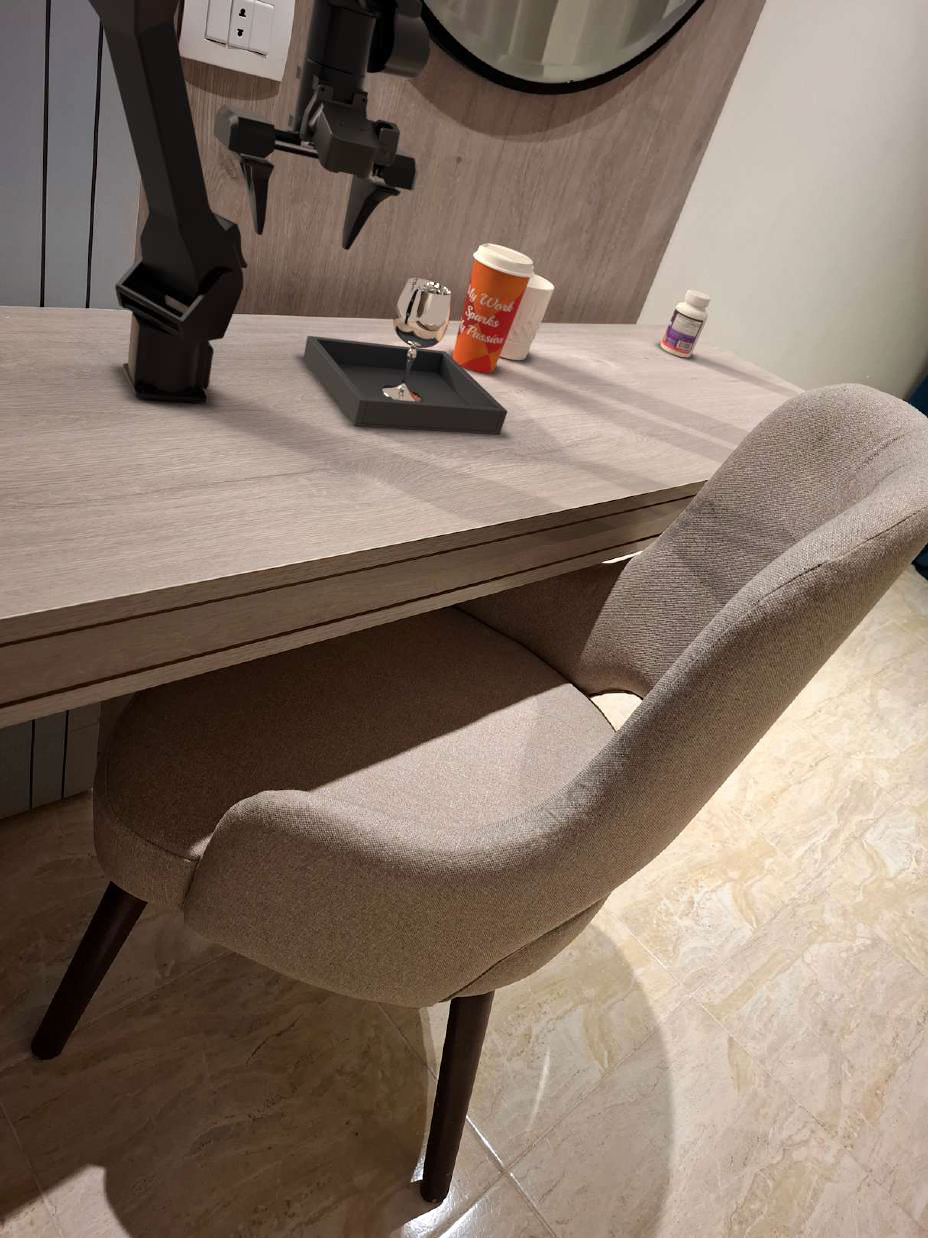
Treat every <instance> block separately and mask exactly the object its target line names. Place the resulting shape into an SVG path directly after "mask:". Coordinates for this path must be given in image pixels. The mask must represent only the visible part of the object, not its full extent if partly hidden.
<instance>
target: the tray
mask: <svg viewBox="0 0 928 1238" xmlns="http://www.w3.org/2000/svg"><path fill="white" fill-rule="evenodd" d="M410 348H411V346H401V345H393V344H385V343H375V342H368V341H367V342H366V341H358V340H351V339H350V340H349V339H340V338H333V337H323V336H313V335H307V337H306V342H305V347H304V352H303V357H302V361H303V362H304V363H305V365H306V366H307V367H308V368H309V369H310V371H311V373H313V374H314V376H315V378H316V379H317V380H318V381H319V382H320V384H321V385H322V386H323V388H324V389H325V390H326V391H327V393H328V394H329V396H330V397H331V398H332V400H333V401H334V402H335V403H336V404H337V406H338V407H339V408H340V410H341V411H342V412H343V413H344V414H345V416H346V417H347V419H348V420H349V421H350V422H351V424H352V425H353V426H354V427H369V428H370V427H372V428H384V429H385V428H387V429H389V428H390V429H402V430H403V429H404V430H418V431H419V430H420V431H434V432H435V431H436V432H453V433H467V434H468V433H470V434H485V435H501V433H502V429H503V427H504V424H505V421H506V417H507V415H508V410H507V409H506V408H505V407H504V406H503V405H502V404H501V403H500V402H499V401H497V399H496V398H495V397H494V396H492V394H491V393H489V392H488V390H486V388H484V387H483V385H481V384H480V383H479V382H478V381H477V380H476V379H475V378H474V377H473V376H472V375H471V374H470V373H469V372H467V370H465V368H464V367H463V366H461V365H459V364H458V363H457V362H456V361H455V360H454V359H453V356H451V355H450V354H449V353H448V352H447V351H445V350H437V349H430V348H429V349H427V348H416V358H415V360H414V361H413V363H412V366H411V368H410V371H409V375H408V379H407V387H408V388H409V389H411V390H413V391H415V392H416V393H417V394H418V395H419V396H420V397H421V400H420V402H418V401H405V400H393V399H391V398H389V397H387V396H386V395H385V394H384V393H383V392H382V387H383V386H385V385H400V384H401V382H402V380H403V378H404V374H405V370H406V363H407V353H408V350H409V349H410Z"/></svg>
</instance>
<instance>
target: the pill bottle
mask: <svg viewBox="0 0 928 1238" xmlns="http://www.w3.org/2000/svg"><path fill="white" fill-rule="evenodd" d="M711 300H712V298H711V296H709V295H707V294H706V293H704V292H701V291H698V290H695V289H687V291H686V293H685V295H684V301H681V302H678V303H677V304H676V306H675V309H674V311H673V312H672V316H671V317H670V320H669V323H668V326H667V327H666V330H665V333H664V335H663V338H662V340H661V342H660V347H661V349H662V350H664V351H665V352H667V353H669V354H671V355H674V356H677V357H680V358H690V357H691V356H692V354H693V353H694V350H695V347H696V345H697V342H698V340H699V338H700V335H701V333H702V331H703V329H704V327H705V324H706V322H707V319H708V316H709V314H708V312H707V310H706V308H708V307H709V304H710V302H711Z"/></svg>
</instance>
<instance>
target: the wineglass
mask: <svg viewBox="0 0 928 1238" xmlns="http://www.w3.org/2000/svg"><path fill="white" fill-rule="evenodd" d="M451 307H452V292H451V290H450V289H449V288H447V287H446V286H444V285H442V284H440V283H437V282H435V281H432V280H429V279H424V278H420V277H419V278H418V277H410V278H408V279H407V281H406V283H405V285H404V286H403V289H402V290H401V292H400V294H399V297H398V299H397V302H396V304H395V307H394V311H393V317H392V318H393V319H392V324H393V329H394V332H395V334H396V335H397V336H398V338H399V339H400V340H401V341H403V342H404V343H405V344H407V345H409V347H411V348H410V349H409V350H408V353H407V363H406V370H405V374H404V378H403V380H402V382H401V384H400V385H385V386H383V387H382V392H383V393H384V394H385V395H386V396H387V397H389V398H391V399H393V400H405V401H418V402H420V400H421V397H420V396H419V395H418V394H417V393H416V392H415V391H413V390H411V389H409V388H408V387H407V379H408V375H409V371H410V368H411V366H412V363H413V361H414V360H415V358H416V348H420V349H427V348H432V347H434V346H436V345H438V344H439V343H440V342H441V341H442V340H443V339H444V337H445V335H446V332H447V331H448V326H449V322H450V317H451Z"/></svg>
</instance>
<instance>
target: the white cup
mask: <svg viewBox="0 0 928 1238" xmlns="http://www.w3.org/2000/svg"><path fill="white" fill-rule="evenodd" d="M554 291H555V286H554V284H553V283H552V282H551V281H549V280H547V279H546V278H544V277H542V276H540V275H538V274H535V276H534V277H530V279H529V282H528V284H527V287H526V289H525V292H524V295H523V297H522V300H521V302H520V305H519V308H518V310H517V313H516V315H515V318H514V321H513V323H512V326H511V328H510V331H509V333H508V336H507V339H506V341H505V344H504V346H503V349H502V351H501V354H500V356H499V358H504V359H508V360H512V361H522V360H523V361H524V360H526V358H527V356H528V353H529V352H530V349H531V346H532V344H533V341H535V339H536V336H537V334H538V331H539V329H540V326H541V323H542V321H543V319H544V316H545V314H546V311H547V309H548V306H549V303H550V301H551V299H552V296H553V293H554Z"/></svg>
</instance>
